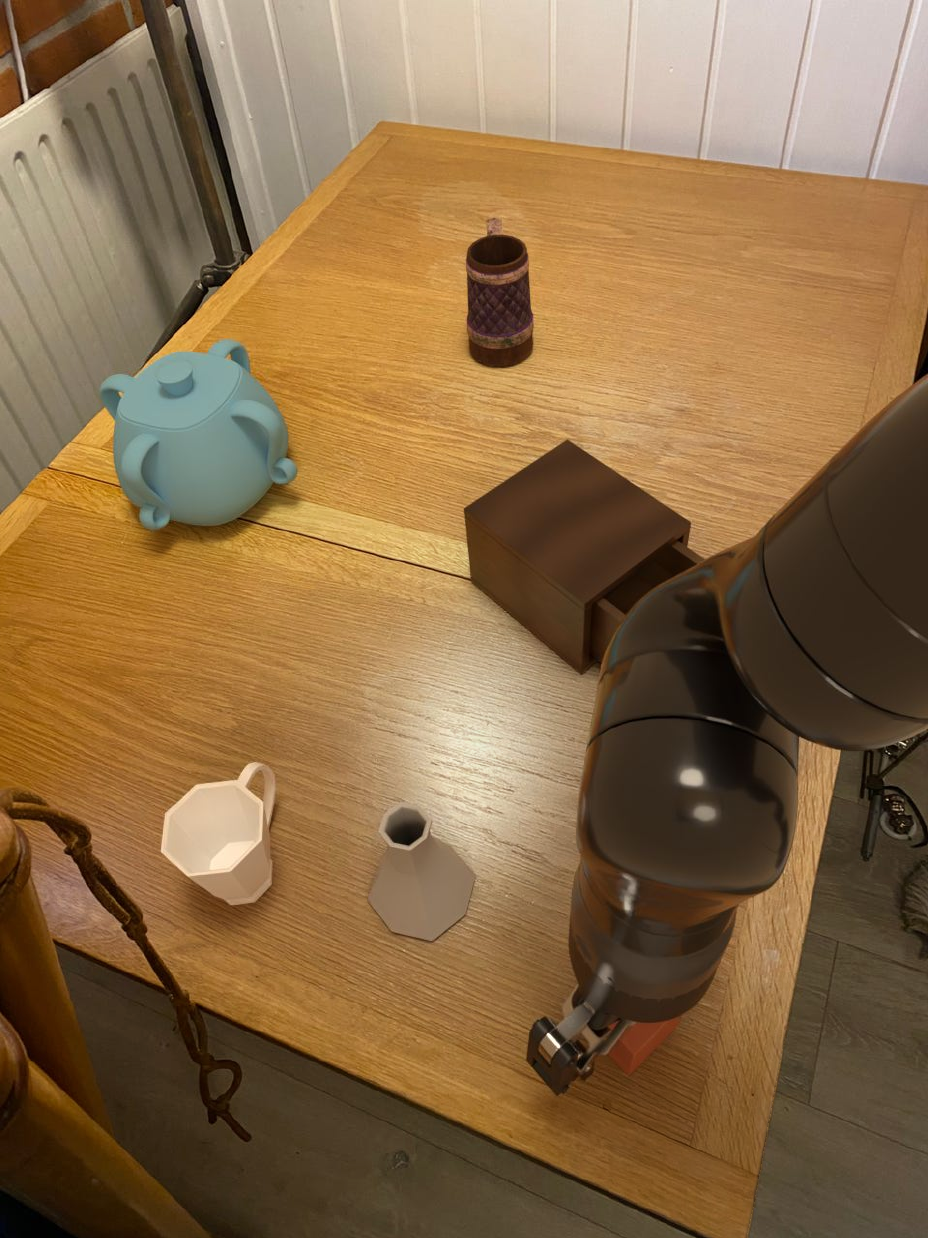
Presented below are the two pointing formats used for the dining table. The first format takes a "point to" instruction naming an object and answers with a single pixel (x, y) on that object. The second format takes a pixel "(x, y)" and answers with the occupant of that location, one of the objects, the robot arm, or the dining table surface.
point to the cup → (224, 836)
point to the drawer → (635, 593)
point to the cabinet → (564, 544)
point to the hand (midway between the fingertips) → (625, 1014)
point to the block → (640, 1043)
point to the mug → (498, 298)
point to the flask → (418, 876)
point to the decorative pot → (196, 437)
